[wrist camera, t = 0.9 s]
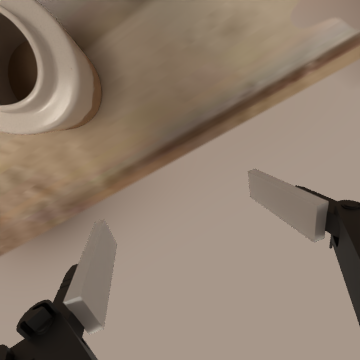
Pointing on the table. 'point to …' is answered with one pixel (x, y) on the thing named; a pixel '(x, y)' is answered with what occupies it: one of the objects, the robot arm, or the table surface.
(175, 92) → the table surface
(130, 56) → the table surface
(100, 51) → the table surface
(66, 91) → the vase
